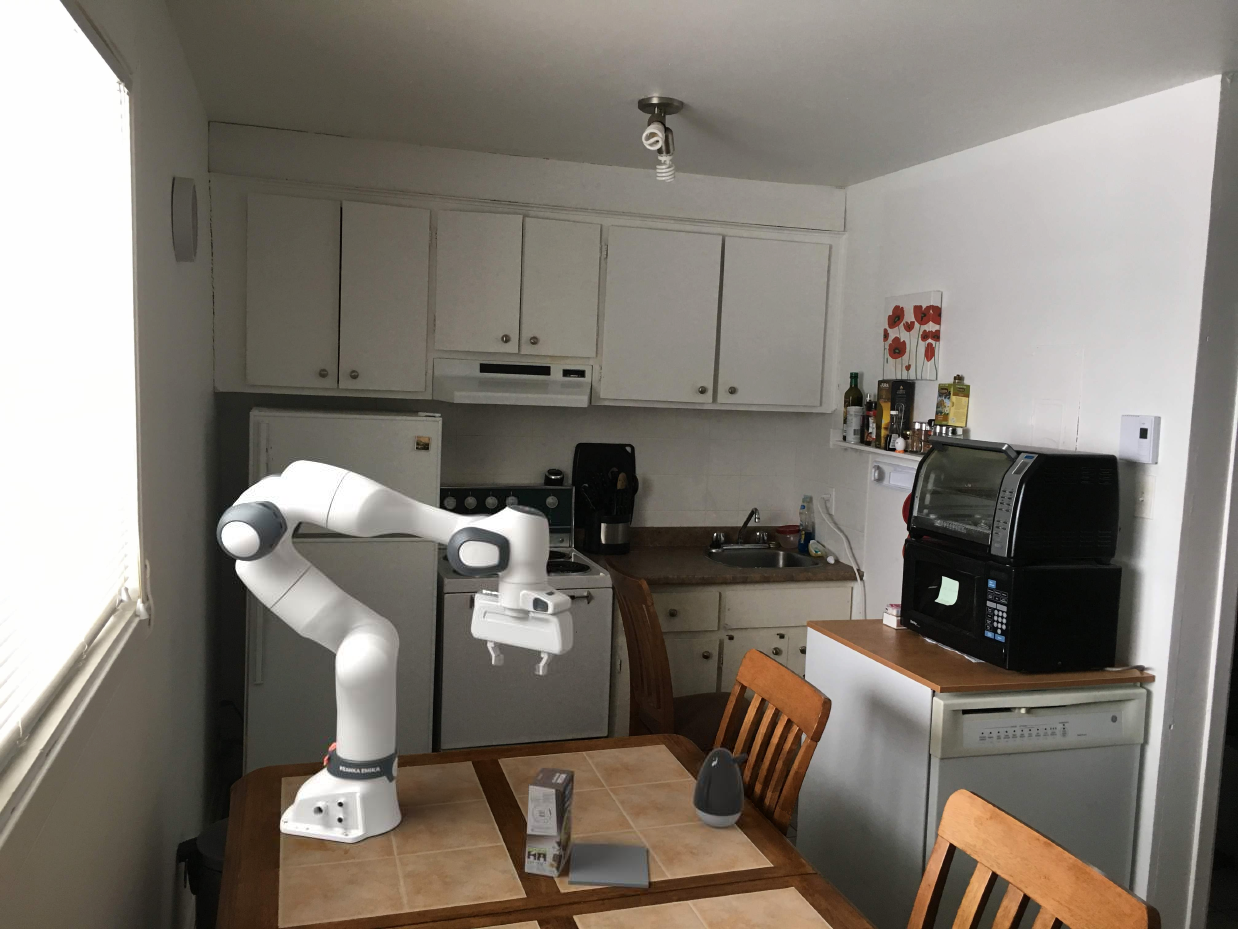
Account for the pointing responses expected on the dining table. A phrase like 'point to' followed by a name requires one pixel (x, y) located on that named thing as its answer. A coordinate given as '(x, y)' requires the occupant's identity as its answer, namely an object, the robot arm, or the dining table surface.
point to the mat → (608, 865)
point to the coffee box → (549, 821)
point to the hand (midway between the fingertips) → (519, 669)
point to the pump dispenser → (719, 789)
